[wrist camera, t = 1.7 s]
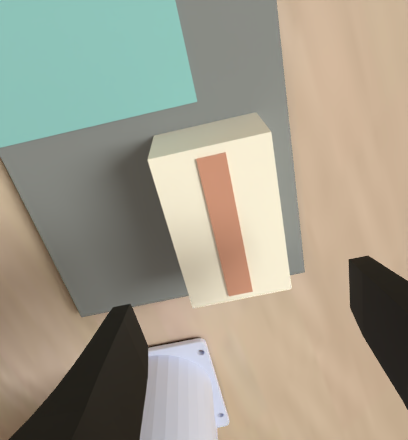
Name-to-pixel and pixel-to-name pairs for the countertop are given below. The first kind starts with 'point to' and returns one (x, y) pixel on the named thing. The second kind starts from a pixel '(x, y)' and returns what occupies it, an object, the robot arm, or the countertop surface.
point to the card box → (223, 208)
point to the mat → (129, 126)
